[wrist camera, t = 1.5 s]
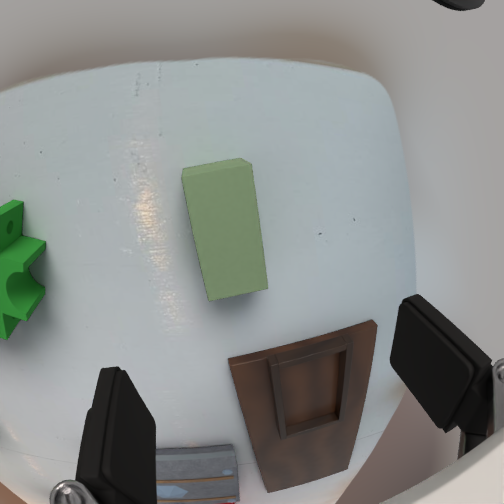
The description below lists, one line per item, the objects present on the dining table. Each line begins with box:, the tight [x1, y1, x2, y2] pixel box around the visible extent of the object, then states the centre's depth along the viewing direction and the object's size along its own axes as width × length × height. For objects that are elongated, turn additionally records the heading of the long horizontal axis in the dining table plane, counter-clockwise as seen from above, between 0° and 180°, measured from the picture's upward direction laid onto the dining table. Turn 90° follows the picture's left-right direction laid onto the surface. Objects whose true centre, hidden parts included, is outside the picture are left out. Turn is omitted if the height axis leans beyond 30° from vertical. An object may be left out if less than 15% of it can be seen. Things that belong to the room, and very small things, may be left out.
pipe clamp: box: [0, 200, 46, 340], centre depth 19 cm, size 11×4×5 cm, turn 162°
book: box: [156, 444, 240, 504], centre depth 34 cm, size 21×16×5 cm
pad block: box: [182, 158, 268, 301], centre depth 22 cm, size 4×9×4 cm, turn 8°
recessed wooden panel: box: [228, 320, 378, 493], centre depth 37 cm, size 16×38×3 cm, turn 8°
